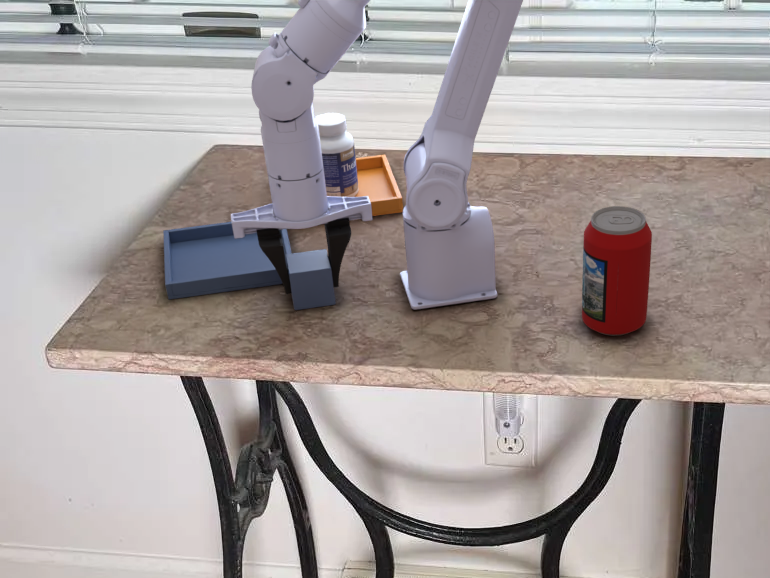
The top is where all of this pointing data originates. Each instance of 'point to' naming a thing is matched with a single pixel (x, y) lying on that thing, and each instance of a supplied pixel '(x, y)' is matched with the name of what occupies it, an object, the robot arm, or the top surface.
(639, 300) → the beverage can
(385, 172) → the amber tray
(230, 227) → the blue tray
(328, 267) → the blue block
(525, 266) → the top surface
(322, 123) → the pill bottle
